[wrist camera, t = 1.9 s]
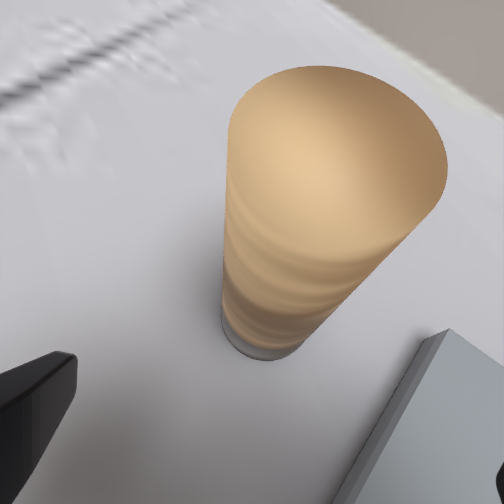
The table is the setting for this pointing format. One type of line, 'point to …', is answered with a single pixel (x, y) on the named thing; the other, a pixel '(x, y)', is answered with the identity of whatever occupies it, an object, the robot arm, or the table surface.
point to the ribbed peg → (317, 198)
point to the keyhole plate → (435, 432)
